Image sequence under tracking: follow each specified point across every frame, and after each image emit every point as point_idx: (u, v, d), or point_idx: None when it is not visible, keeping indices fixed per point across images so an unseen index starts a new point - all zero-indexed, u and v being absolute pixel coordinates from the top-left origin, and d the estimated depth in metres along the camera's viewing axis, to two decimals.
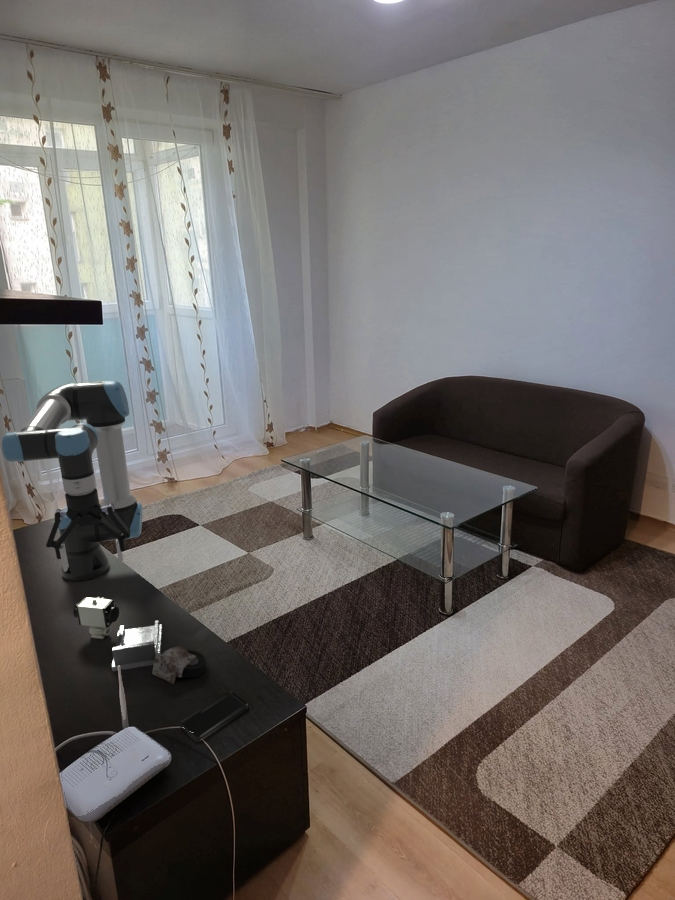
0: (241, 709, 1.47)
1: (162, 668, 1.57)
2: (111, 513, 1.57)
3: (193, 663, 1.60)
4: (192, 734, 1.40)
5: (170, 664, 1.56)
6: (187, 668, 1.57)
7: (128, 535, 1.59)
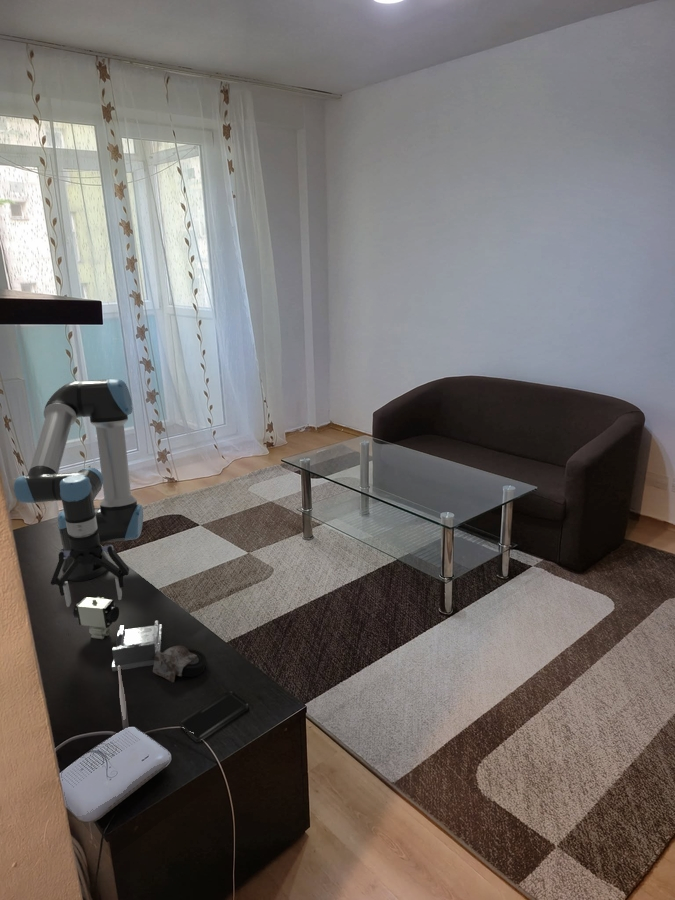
0: (241, 709, 1.47)
1: (162, 666, 1.57)
2: (111, 553, 1.69)
3: (193, 662, 1.60)
4: (192, 734, 1.40)
5: (170, 663, 1.57)
6: (187, 667, 1.57)
7: (127, 573, 1.71)
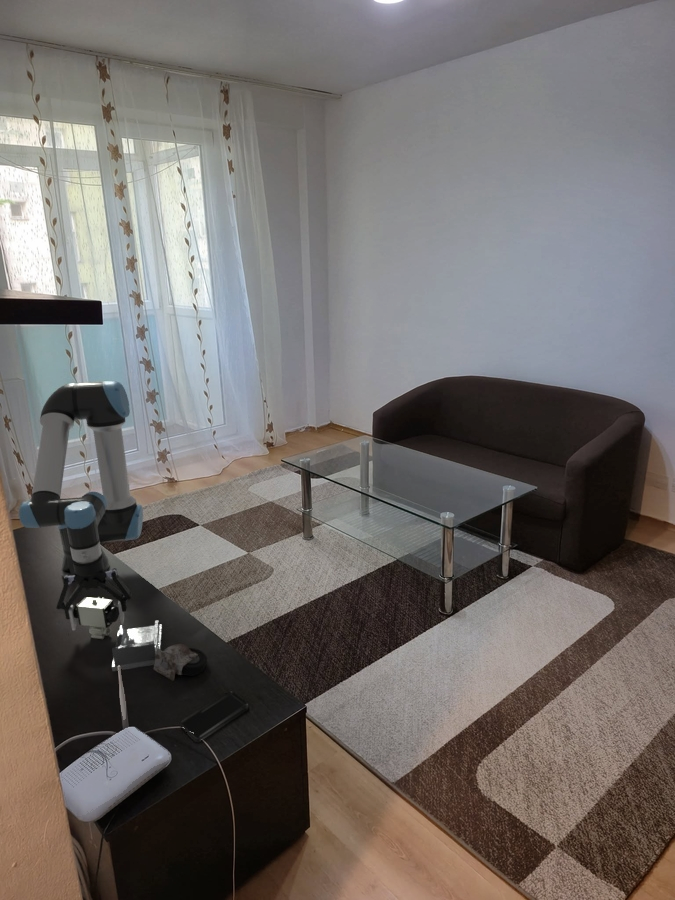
0: (241, 709, 1.47)
1: (162, 664, 1.58)
2: (115, 578, 1.71)
3: (194, 661, 1.60)
4: (192, 734, 1.40)
5: (170, 661, 1.57)
6: (187, 666, 1.58)
7: (129, 597, 1.74)
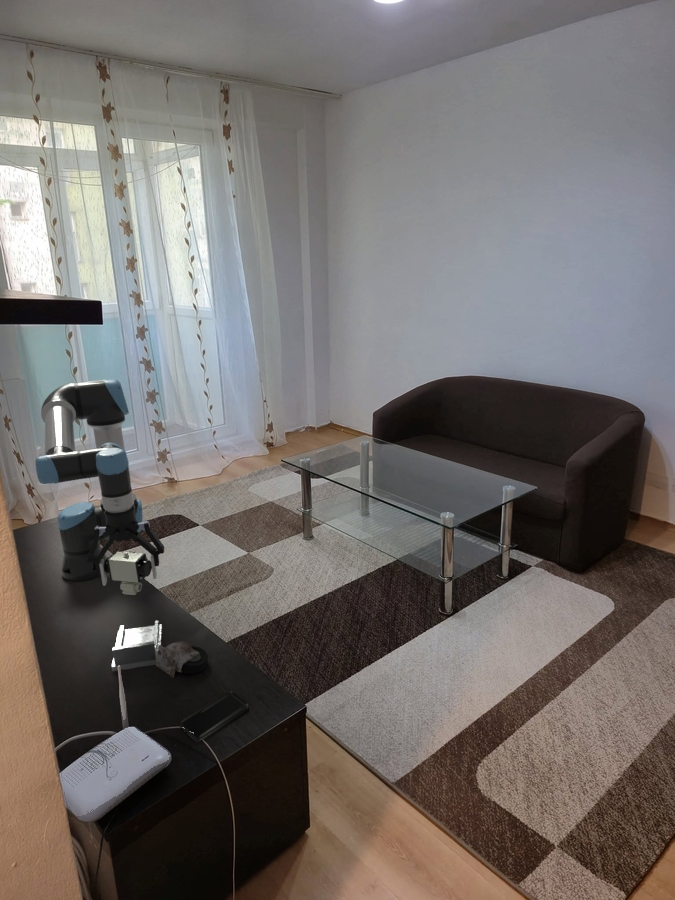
0: (241, 709, 1.47)
1: (163, 661, 1.59)
2: (147, 529, 1.63)
3: (194, 660, 1.61)
4: (192, 734, 1.40)
5: (171, 658, 1.59)
6: (187, 664, 1.59)
7: (162, 551, 1.66)
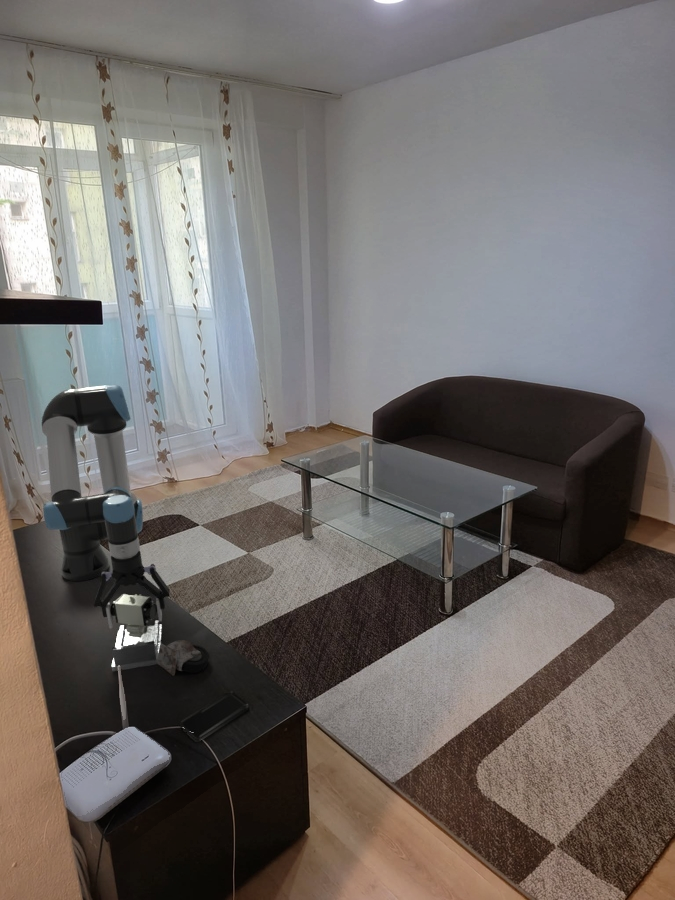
0: (241, 709, 1.47)
1: (164, 659, 1.60)
2: (153, 574, 1.66)
3: (195, 659, 1.61)
4: (192, 734, 1.40)
5: (171, 656, 1.59)
6: (187, 663, 1.59)
7: (168, 594, 1.69)
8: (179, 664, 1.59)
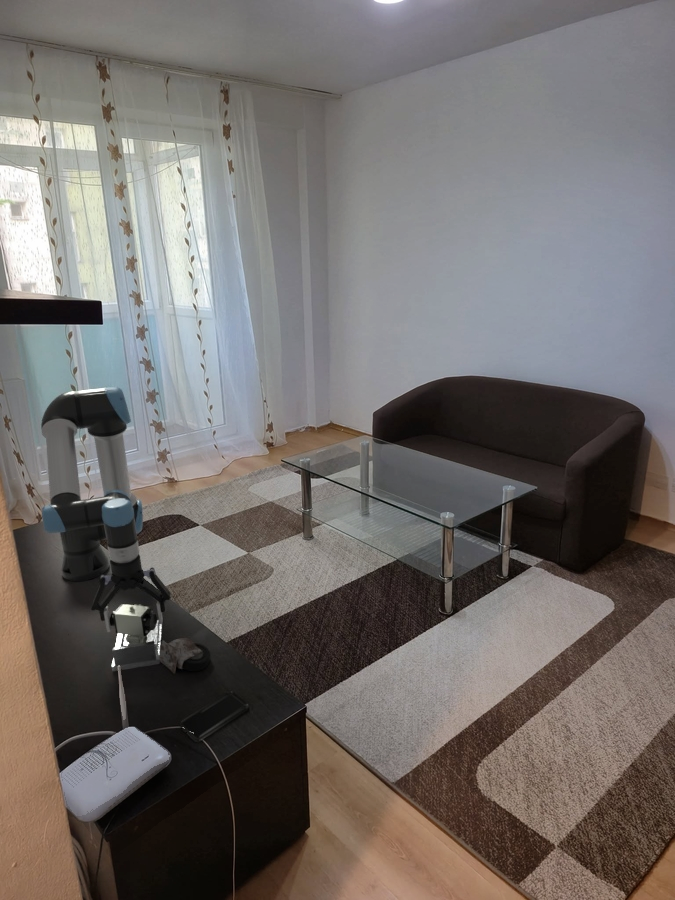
0: (241, 709, 1.47)
1: (166, 656, 1.61)
2: (153, 577, 1.64)
3: (196, 657, 1.62)
4: (192, 734, 1.40)
5: (172, 654, 1.60)
6: (187, 661, 1.60)
7: (168, 597, 1.67)
8: (180, 662, 1.60)
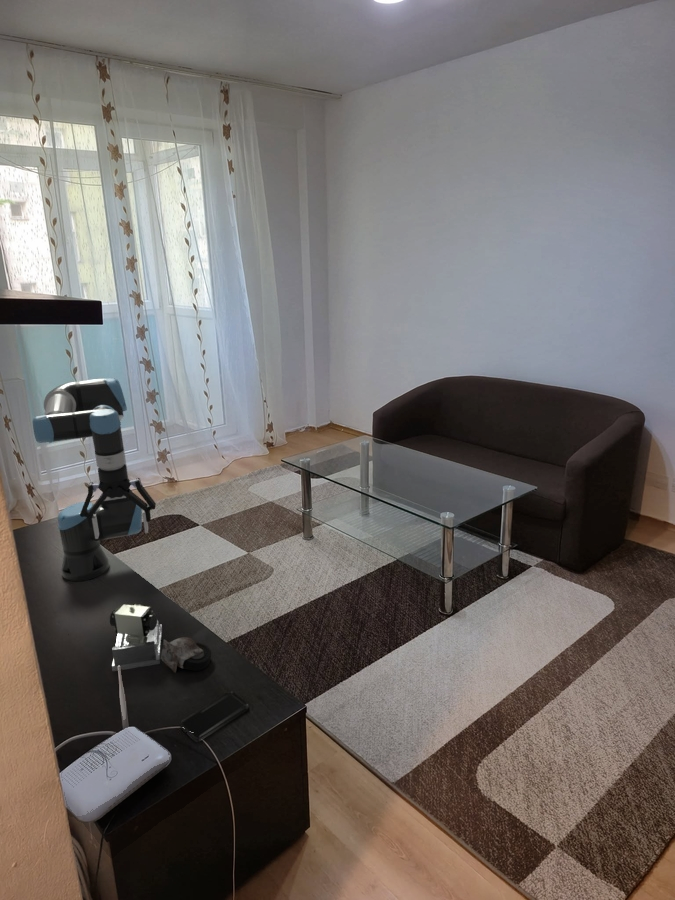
0: (241, 709, 1.47)
1: (167, 655, 1.61)
2: (139, 486, 1.73)
3: (197, 657, 1.62)
4: (192, 734, 1.40)
5: (173, 653, 1.60)
6: (188, 661, 1.60)
7: (154, 507, 1.76)
8: (180, 661, 1.60)
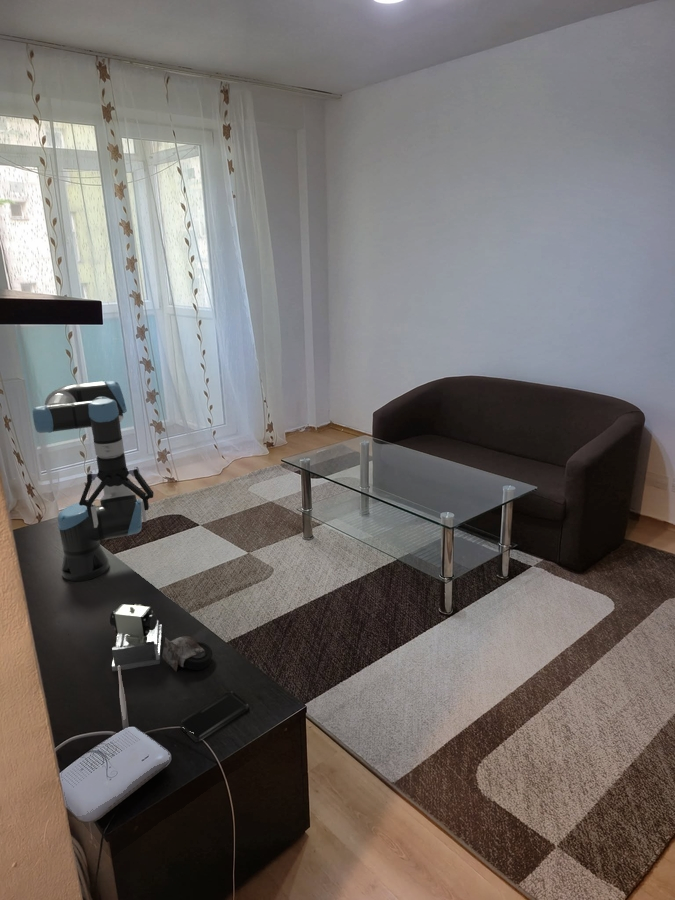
0: (241, 709, 1.47)
1: (168, 654, 1.62)
2: (137, 475, 1.76)
3: (197, 656, 1.62)
4: (192, 734, 1.40)
5: (174, 652, 1.61)
6: (189, 660, 1.60)
7: (151, 495, 1.78)
8: (181, 660, 1.60)
